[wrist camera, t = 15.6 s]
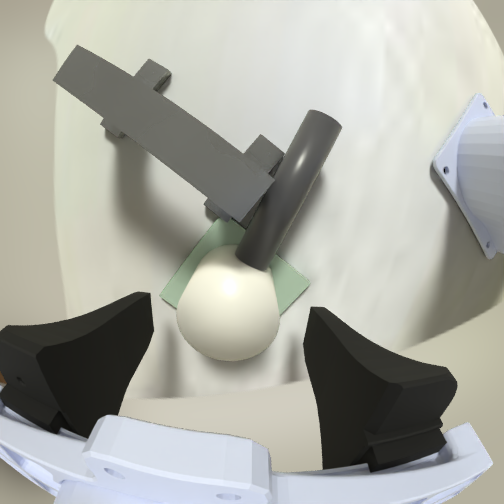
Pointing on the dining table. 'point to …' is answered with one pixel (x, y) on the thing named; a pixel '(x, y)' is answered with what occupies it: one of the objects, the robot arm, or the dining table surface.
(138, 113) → the bracket
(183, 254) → the dining table surface
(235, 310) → the plug
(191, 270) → the pad
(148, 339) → the robot arm
